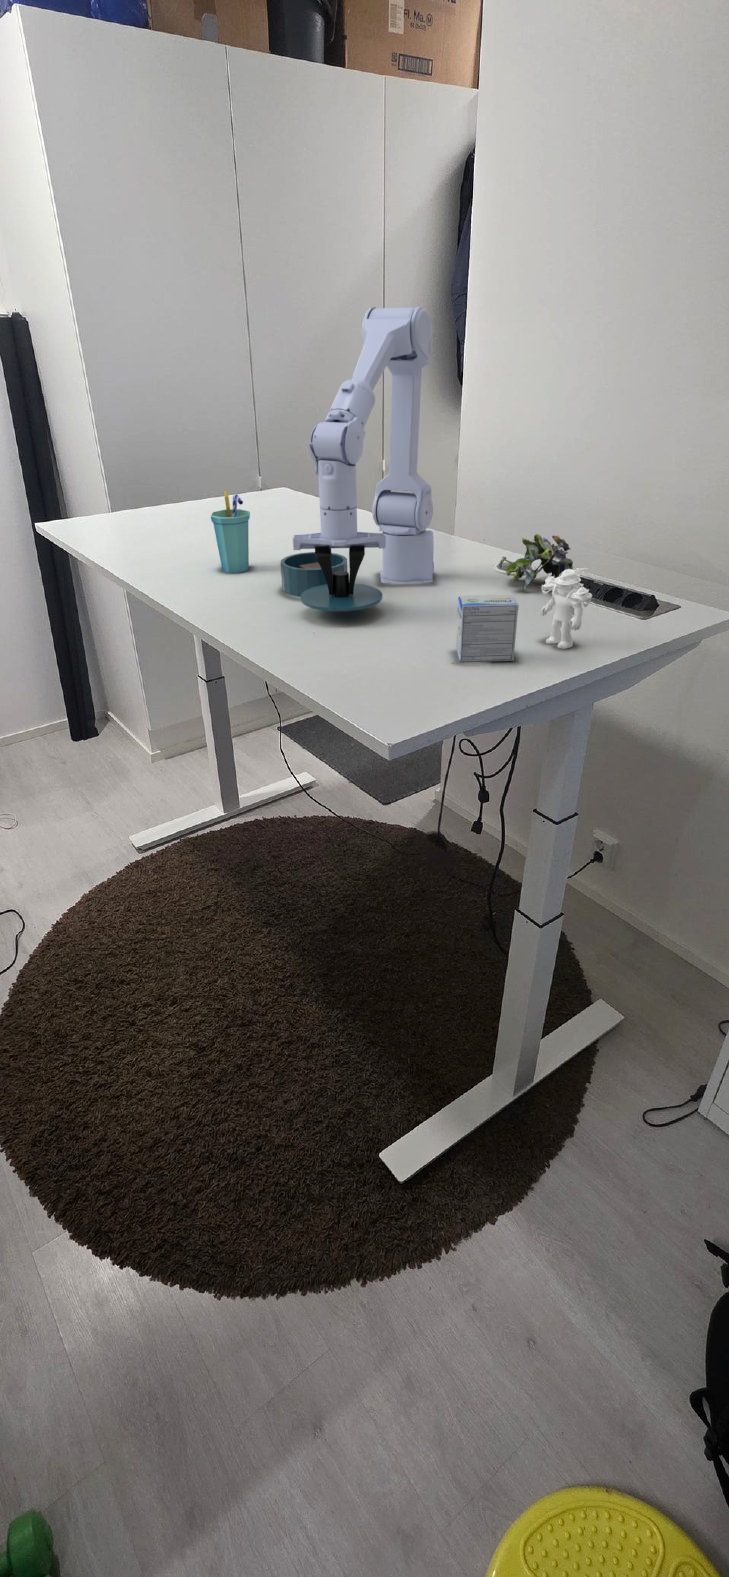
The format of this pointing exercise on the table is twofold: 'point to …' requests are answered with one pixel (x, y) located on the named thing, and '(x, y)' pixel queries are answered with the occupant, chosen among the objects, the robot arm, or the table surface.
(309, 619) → the table surface
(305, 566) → the block
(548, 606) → the hat wearing toy figure
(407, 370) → the robot arm
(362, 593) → the lid
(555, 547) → the passion flower
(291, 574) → the pot
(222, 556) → the cup
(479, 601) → the medicine box
